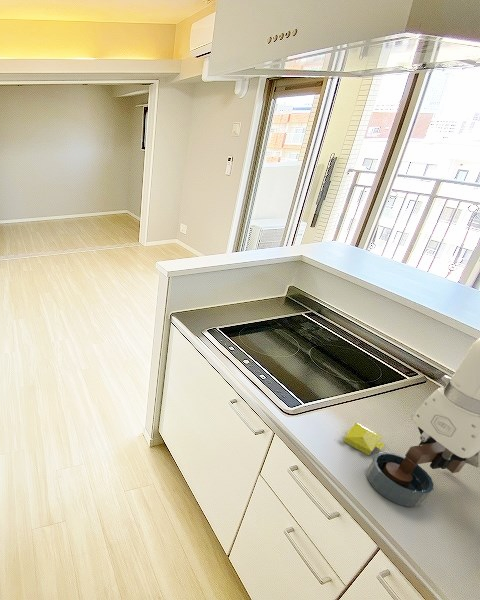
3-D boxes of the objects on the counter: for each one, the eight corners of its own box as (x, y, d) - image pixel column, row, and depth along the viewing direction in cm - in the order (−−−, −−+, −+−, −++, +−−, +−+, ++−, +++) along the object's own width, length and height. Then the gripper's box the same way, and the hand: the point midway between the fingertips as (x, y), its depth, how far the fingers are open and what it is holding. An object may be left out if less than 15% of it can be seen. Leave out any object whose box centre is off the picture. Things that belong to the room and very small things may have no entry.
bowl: (391, 463, 77) (400, 449, 75) (435, 504, 68) (447, 489, 66) (354, 469, 76) (362, 455, 74) (394, 511, 67) (405, 497, 65)
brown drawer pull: (395, 489, 70) (413, 462, 66) (376, 471, 74) (392, 444, 70) (465, 477, 72) (487, 449, 67) (442, 459, 76) (462, 432, 71)
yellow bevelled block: (349, 421, 88) (353, 413, 87) (392, 443, 81) (397, 436, 80) (333, 440, 83) (337, 432, 82) (379, 466, 76) (384, 458, 75)
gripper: (412, 372, 69) (379, 433, 77) (511, 434, 55) (457, 500, 63) (443, 368, 70) (407, 428, 78) (549, 428, 55) (490, 494, 64)
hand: (429, 460), depth 71 cm, fingers closed on brown drawer pull, 2 cm apart
